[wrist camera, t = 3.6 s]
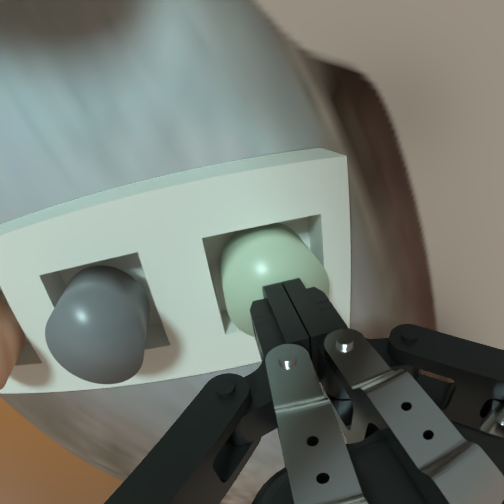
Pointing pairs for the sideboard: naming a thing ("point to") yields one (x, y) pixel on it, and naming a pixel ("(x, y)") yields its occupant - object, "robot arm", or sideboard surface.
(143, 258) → the button board
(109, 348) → the charcoal button
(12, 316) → the terracotta button
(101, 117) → the sideboard surface
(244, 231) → the sage button
